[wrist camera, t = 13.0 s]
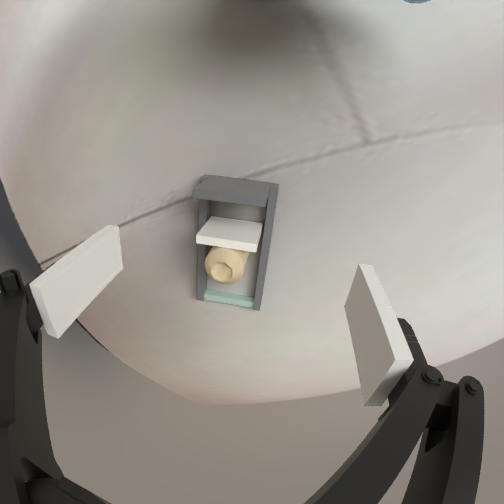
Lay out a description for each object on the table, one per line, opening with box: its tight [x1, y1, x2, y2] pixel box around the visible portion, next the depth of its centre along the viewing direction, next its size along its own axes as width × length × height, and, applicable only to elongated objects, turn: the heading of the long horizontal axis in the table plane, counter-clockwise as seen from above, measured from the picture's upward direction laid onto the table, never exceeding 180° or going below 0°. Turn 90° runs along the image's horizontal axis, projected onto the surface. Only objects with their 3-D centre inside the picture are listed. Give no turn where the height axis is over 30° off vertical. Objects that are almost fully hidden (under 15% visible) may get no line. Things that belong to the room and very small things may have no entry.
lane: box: [193, 175, 279, 311], centre depth 42 cm, size 22×11×9 cm, turn 174°
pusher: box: [196, 216, 263, 252], centre depth 40 cm, size 1×8×8 cm, turn 83°
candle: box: [205, 246, 250, 284], centre depth 41 cm, size 6×6×10 cm
